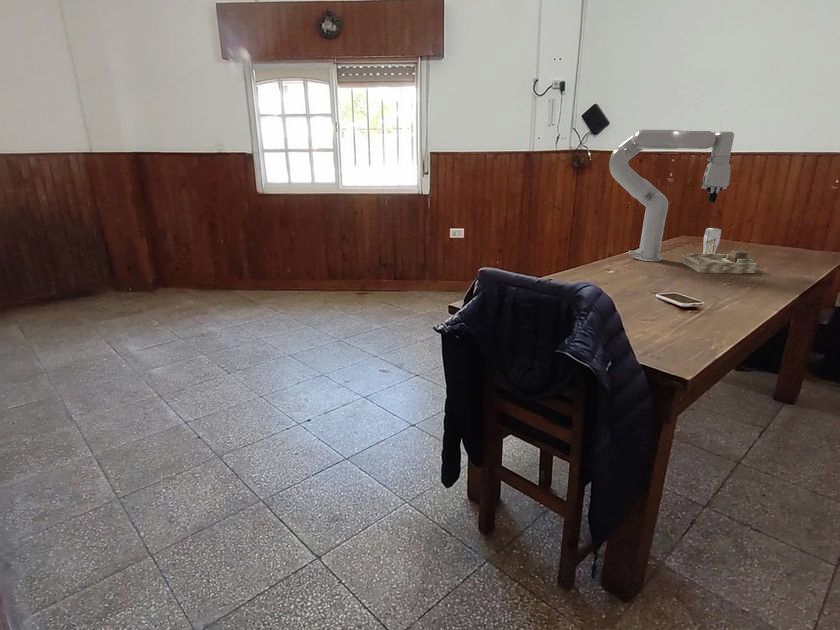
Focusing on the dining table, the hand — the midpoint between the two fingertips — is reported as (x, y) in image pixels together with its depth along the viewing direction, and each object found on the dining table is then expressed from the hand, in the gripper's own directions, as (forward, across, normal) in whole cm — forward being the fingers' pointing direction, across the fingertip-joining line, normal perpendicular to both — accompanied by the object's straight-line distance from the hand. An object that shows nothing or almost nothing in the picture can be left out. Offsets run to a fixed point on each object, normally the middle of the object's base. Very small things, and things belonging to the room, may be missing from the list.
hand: (711, 201), depth 233 cm
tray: (+29, +4, -9) cm, 31 cm away
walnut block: (+26, +12, -9) cm, 30 cm away
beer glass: (+29, +8, +10) cm, 32 cm away
